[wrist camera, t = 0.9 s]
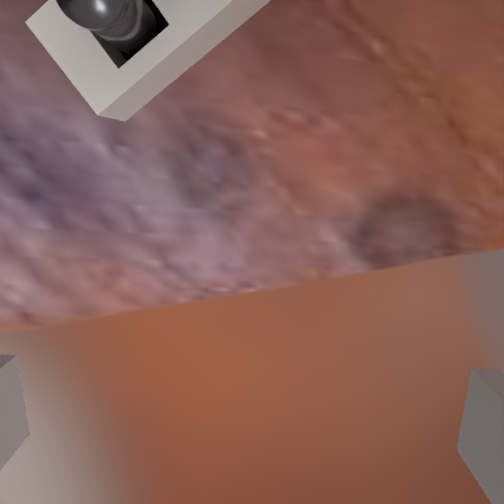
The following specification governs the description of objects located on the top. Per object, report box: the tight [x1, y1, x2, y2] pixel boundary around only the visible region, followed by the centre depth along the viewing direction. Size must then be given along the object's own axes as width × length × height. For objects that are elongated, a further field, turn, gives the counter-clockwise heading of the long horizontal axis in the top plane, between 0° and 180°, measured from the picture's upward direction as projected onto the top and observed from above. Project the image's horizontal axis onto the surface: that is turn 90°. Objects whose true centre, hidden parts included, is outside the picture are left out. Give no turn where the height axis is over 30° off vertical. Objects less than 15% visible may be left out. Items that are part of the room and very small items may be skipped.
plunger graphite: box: [56, 0, 156, 54], centre depth 26 cm, size 4×4×7 cm
